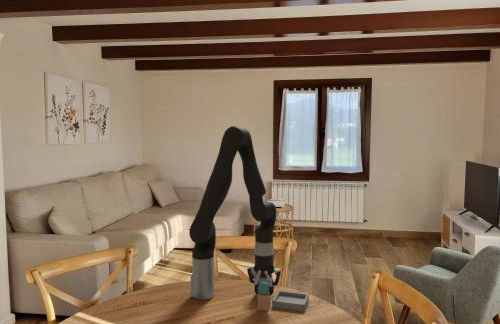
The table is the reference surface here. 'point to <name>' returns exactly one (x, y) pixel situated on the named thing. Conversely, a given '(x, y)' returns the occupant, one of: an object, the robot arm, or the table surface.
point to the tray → (290, 300)
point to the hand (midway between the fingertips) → (264, 293)
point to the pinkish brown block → (263, 302)
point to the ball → (263, 288)
